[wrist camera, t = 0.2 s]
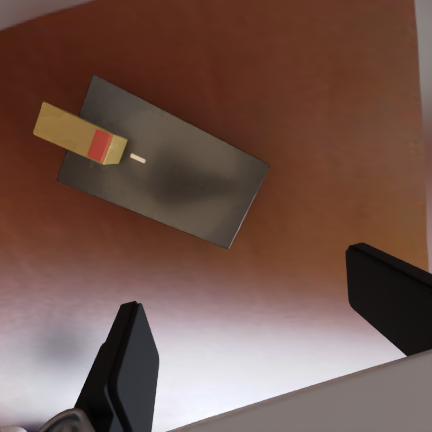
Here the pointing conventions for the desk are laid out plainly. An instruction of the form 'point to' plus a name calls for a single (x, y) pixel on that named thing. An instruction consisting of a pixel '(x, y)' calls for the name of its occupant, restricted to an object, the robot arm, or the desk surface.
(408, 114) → the desk surface
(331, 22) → the desk surface
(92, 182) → the plate
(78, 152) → the block
